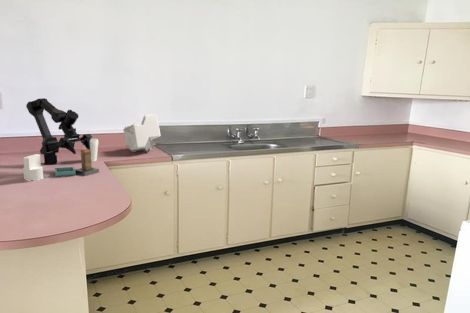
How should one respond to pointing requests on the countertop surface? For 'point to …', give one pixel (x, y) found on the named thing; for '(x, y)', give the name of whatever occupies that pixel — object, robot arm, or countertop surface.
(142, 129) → the white notched angular block
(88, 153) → the pin
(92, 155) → the foam cup
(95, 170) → the grey square flat frame
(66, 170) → the tray
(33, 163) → the cylinder with rectangular tab
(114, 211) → the countertop surface
